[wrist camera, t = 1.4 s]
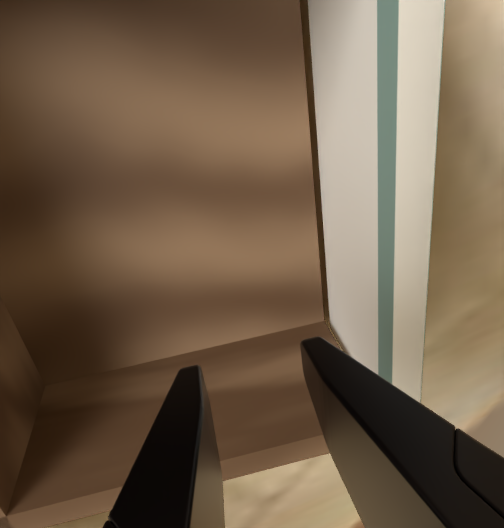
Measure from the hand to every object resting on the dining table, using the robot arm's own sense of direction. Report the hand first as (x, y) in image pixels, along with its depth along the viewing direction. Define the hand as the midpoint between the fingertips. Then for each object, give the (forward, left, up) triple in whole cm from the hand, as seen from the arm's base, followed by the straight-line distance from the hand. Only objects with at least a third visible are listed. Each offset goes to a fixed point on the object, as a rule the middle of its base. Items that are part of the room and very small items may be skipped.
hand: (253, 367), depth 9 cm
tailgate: (0, -6, -12) cm, 14 cm away
